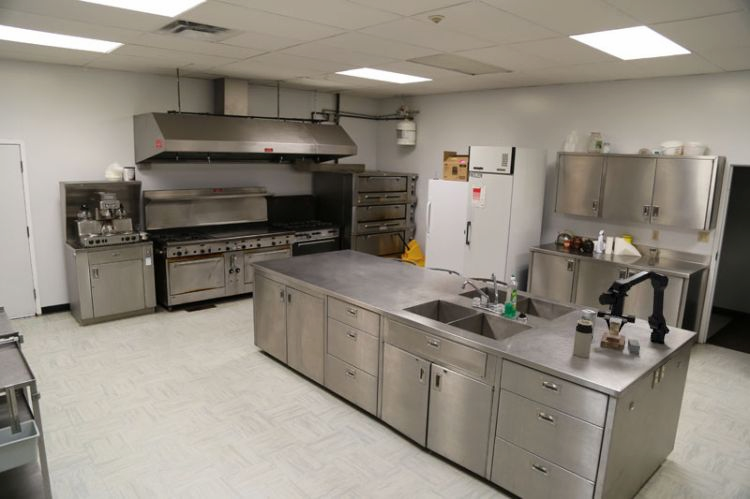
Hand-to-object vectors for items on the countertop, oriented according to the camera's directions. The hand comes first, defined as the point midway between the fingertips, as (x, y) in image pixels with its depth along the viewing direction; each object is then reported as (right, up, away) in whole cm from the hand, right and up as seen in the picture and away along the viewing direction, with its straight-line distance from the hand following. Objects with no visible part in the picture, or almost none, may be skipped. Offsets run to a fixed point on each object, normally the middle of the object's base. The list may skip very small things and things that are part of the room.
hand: (614, 331), depth 269 cm
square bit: (0, -1, 0) cm, 2 cm away
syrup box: (-9, -5, +16) cm, 19 cm away
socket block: (+1, -7, +4) cm, 8 cm away
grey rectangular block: (+7, -10, -6) cm, 14 cm away
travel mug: (-24, -10, -13) cm, 29 cm away
